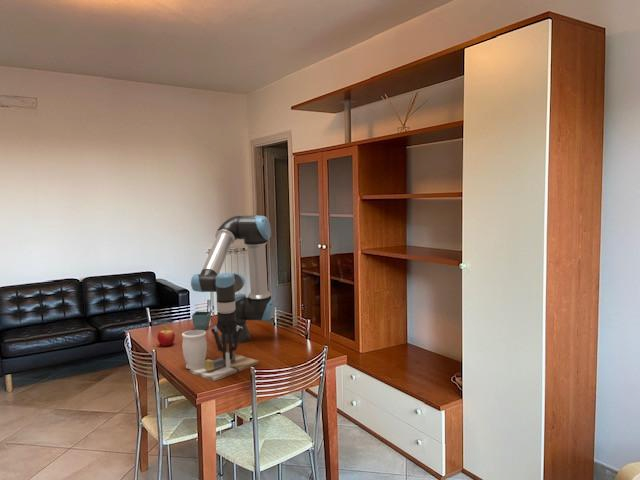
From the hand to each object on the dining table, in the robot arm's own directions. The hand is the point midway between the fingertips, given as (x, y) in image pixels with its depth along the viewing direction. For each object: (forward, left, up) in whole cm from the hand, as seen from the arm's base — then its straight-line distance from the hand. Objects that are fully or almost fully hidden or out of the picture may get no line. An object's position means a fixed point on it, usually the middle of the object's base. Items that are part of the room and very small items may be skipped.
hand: (228, 366), depth 200 cm
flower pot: (-66, +38, -3) cm, 76 cm away
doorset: (-7, +4, -3) cm, 9 cm away
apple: (-56, +8, -3) cm, 56 cm away
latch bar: (-7, +2, -1) cm, 7 cm away
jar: (-19, -2, -3) cm, 19 cm away
